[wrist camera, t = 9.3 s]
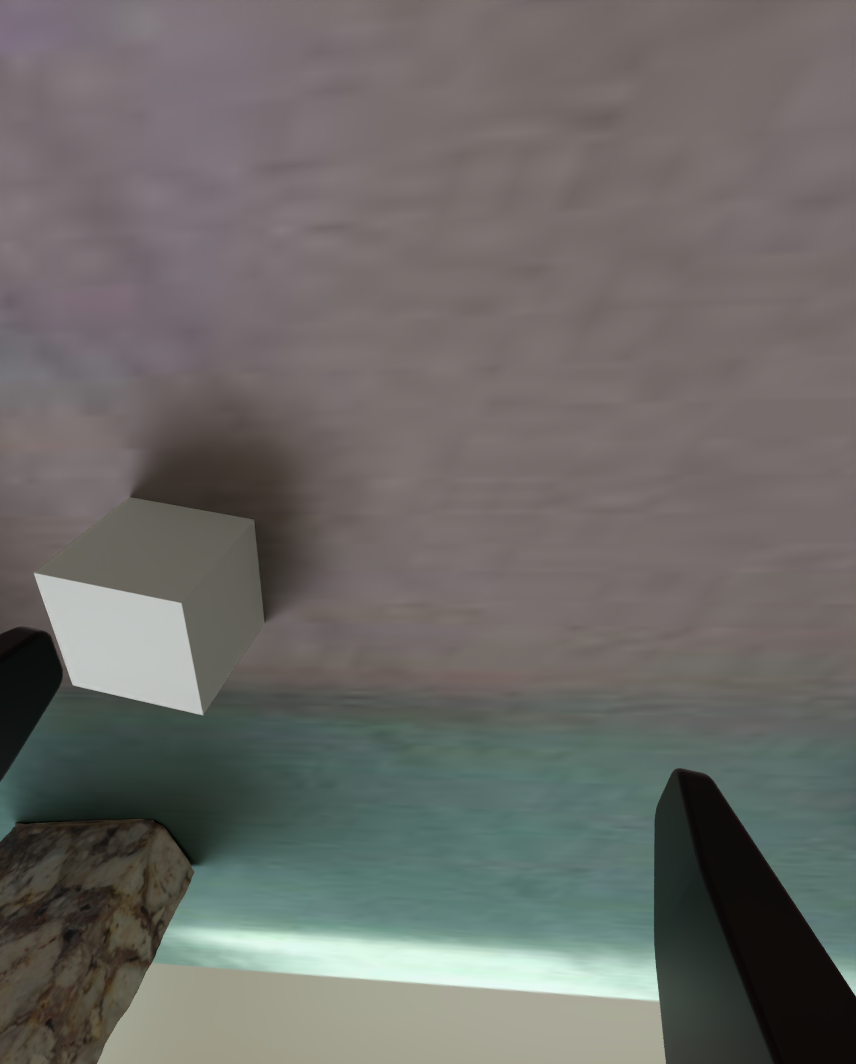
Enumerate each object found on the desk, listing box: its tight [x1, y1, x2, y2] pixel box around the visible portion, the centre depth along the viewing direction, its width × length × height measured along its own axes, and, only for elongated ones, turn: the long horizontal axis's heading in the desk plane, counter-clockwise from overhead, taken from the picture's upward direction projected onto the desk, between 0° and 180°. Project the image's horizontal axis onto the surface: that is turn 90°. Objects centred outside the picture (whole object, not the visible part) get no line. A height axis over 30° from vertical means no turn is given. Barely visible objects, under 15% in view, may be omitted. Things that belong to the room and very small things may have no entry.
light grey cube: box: [34, 497, 265, 715], centre depth 22 cm, size 5×5×5 cm
